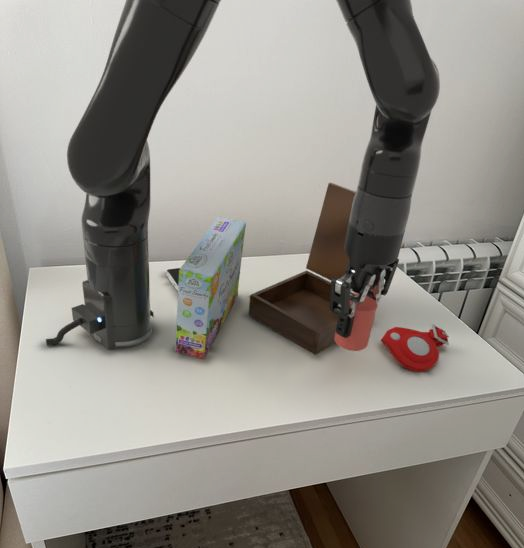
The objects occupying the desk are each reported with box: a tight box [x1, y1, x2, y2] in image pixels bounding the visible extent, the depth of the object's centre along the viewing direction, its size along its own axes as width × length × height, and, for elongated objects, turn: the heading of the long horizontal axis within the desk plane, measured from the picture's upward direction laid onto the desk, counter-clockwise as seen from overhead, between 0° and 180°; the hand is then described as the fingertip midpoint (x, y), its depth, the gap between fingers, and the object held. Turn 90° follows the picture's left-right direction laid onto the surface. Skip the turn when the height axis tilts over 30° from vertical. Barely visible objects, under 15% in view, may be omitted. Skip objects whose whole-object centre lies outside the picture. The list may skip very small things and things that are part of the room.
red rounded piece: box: [380, 324, 450, 373], centre depth 90 cm, size 12×4×10 cm
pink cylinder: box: [334, 292, 378, 352], centre depth 80 cm, size 5×5×7 cm
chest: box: [248, 269, 354, 356], centre depth 95 cm, size 16×16×4 cm
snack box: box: [174, 216, 247, 360], centre depth 88 cm, size 21×6×15 cm, turn 168°
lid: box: [305, 182, 359, 294], centre depth 97 cm, size 16×16×5 cm
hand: (353, 327), depth 81 cm, fingers closed on pink cylinder, 5 cm apart
